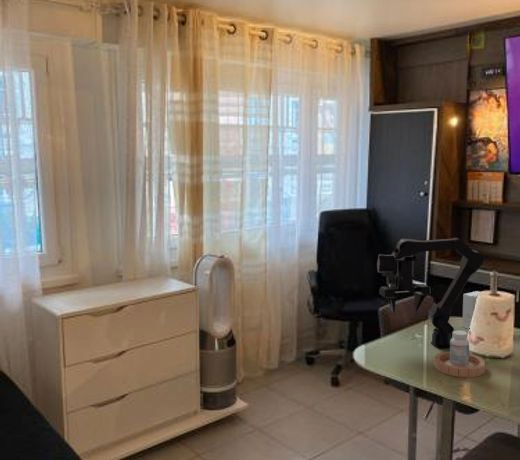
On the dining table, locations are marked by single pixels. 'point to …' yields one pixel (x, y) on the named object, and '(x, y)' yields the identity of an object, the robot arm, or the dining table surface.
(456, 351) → the pill bottle
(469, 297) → the skincare box
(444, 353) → the round dish
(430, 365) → the dining table surface
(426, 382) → the dining table surface
